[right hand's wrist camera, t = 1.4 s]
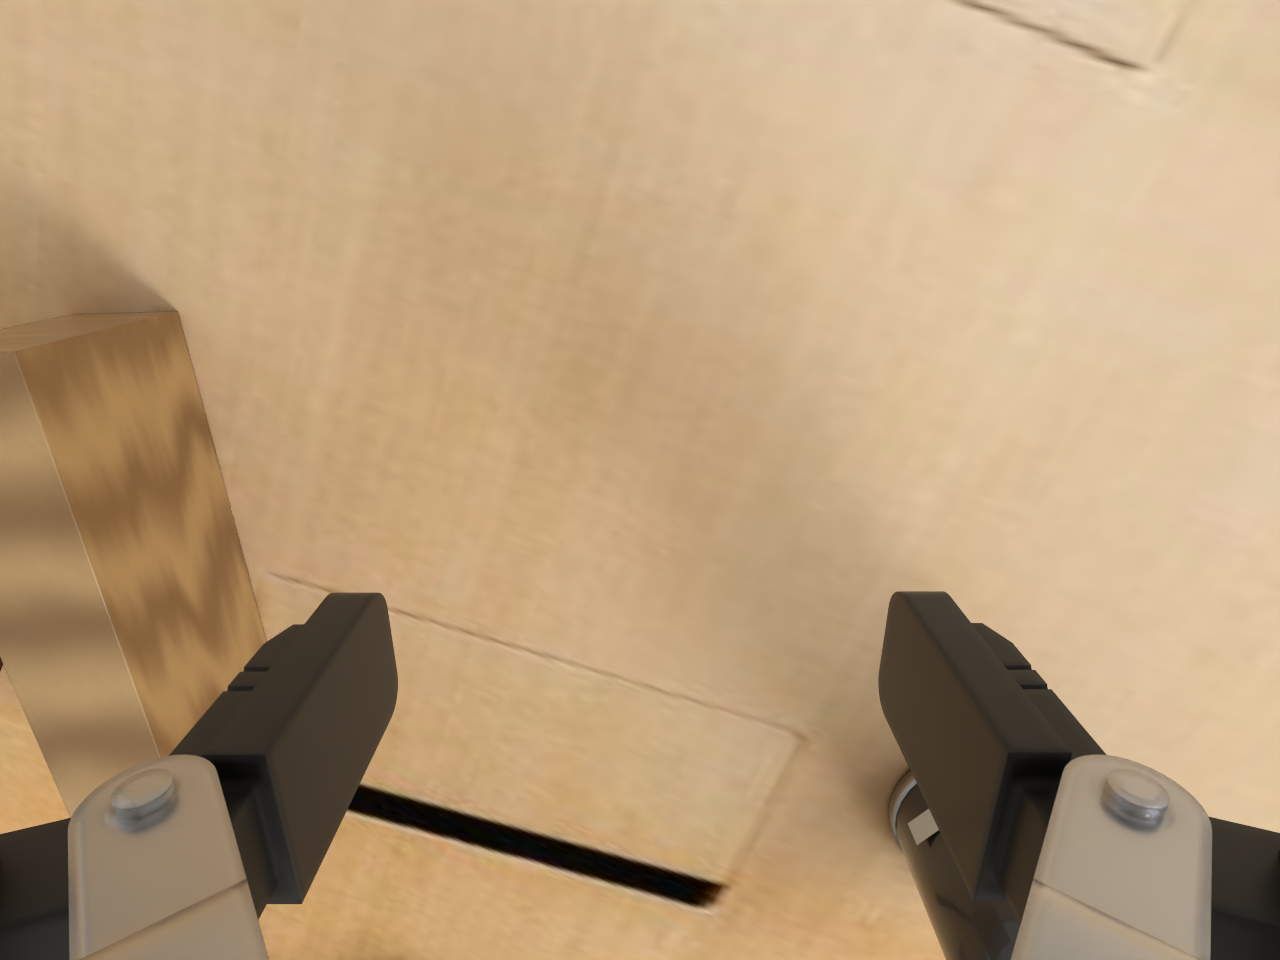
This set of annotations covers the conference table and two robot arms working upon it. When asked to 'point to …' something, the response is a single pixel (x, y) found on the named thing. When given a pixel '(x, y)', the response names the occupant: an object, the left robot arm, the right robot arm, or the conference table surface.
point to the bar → (114, 544)
